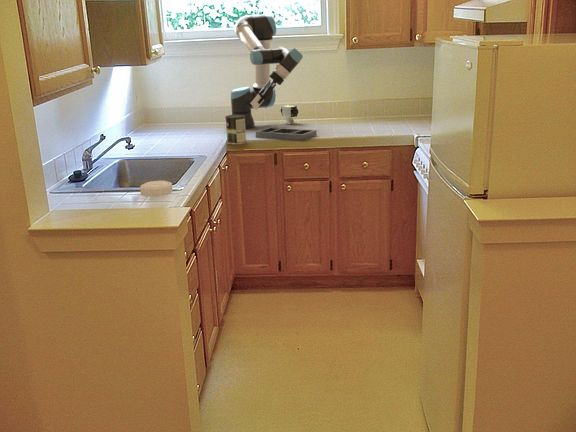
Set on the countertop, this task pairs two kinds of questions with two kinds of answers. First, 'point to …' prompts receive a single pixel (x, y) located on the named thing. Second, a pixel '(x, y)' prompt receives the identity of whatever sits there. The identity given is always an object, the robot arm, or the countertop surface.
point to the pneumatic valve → (289, 113)
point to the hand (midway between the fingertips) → (253, 106)
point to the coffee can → (235, 129)
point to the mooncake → (156, 188)
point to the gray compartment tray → (286, 133)
